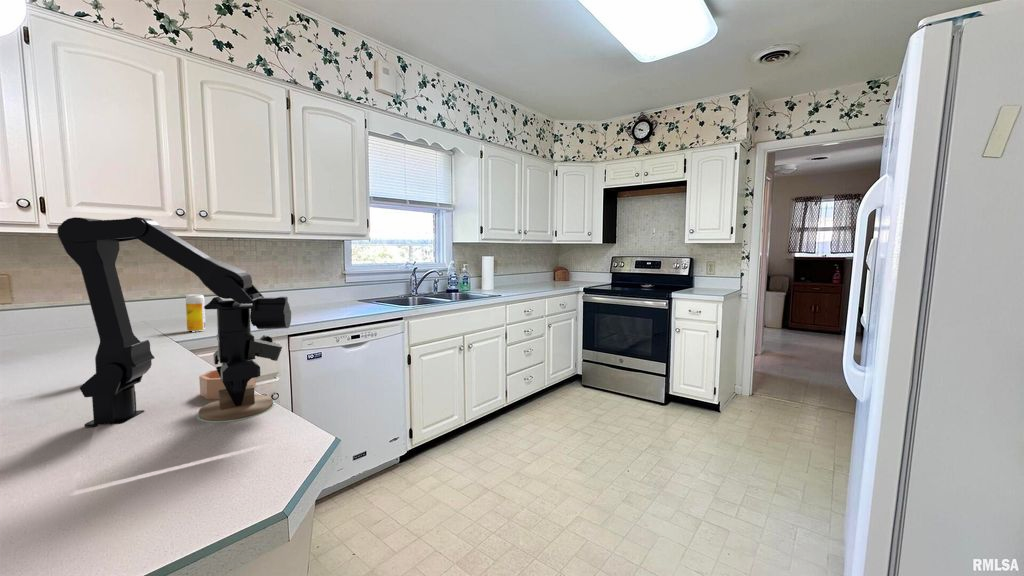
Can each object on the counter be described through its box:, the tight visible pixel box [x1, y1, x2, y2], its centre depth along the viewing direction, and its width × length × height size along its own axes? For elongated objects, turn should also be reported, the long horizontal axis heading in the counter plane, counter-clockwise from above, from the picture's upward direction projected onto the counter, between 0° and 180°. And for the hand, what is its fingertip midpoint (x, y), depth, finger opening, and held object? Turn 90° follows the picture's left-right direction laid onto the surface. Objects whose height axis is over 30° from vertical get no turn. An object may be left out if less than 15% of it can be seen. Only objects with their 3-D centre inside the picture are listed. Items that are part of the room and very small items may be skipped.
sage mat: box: [195, 399, 276, 423], centre depth 88 cm, size 14×14×1 cm
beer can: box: [185, 293, 207, 332], centre depth 170 cm, size 6×6×15 cm
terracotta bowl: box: [199, 369, 257, 400], centre depth 98 cm, size 10×10×5 cm
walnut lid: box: [198, 385, 274, 421], centre depth 88 cm, size 13×13×4 cm
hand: (237, 402), depth 88 cm, fingers open, 4 cm apart
